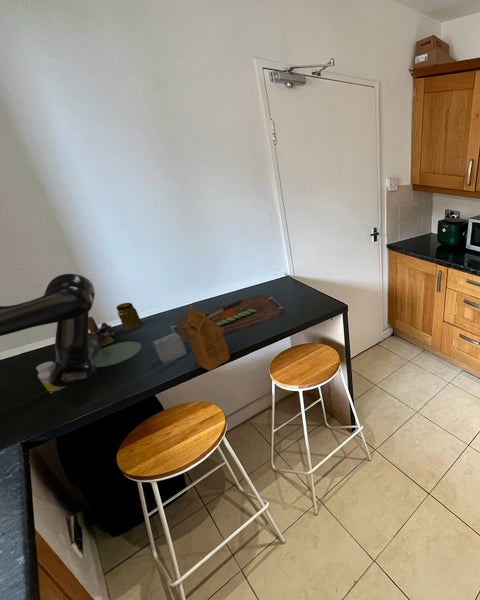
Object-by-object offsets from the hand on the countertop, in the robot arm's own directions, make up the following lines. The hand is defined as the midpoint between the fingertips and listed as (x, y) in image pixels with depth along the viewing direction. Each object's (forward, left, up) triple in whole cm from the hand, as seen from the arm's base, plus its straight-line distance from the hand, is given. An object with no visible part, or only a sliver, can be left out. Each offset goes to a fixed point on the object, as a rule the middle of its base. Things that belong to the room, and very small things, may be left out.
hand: (95, 326), depth 123 cm
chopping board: (+38, -26, -9) cm, 47 cm away
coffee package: (+15, -49, -9) cm, 52 cm away
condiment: (+13, +2, -9) cm, 16 cm away
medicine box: (+9, -34, -9) cm, 36 cm away
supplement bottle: (-19, -18, -9) cm, 27 cm away
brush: (-1, -2, -8) cm, 9 cm away
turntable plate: (-1, -13, -8) cm, 15 cm away
